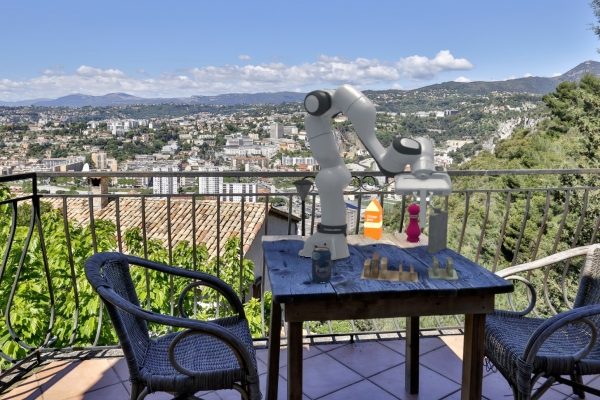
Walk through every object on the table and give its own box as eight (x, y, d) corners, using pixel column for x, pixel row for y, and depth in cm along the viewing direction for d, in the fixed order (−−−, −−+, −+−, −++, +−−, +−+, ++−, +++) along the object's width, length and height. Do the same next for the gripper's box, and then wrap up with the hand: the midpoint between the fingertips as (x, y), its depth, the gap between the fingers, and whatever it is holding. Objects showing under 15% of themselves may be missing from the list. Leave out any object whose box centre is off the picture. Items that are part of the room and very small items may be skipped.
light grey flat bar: (420, 227, 162) (420, 188, 160) (419, 225, 166) (420, 186, 165) (425, 227, 161) (426, 188, 159) (425, 225, 166) (425, 186, 164)
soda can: (317, 285, 161) (317, 251, 160) (308, 279, 168) (308, 247, 166) (334, 282, 164) (334, 249, 162) (325, 277, 170) (325, 245, 169)
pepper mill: (421, 243, 224) (422, 202, 221) (405, 242, 225) (407, 202, 223) (420, 239, 231) (421, 200, 228) (405, 239, 232) (406, 200, 230)
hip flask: (433, 254, 202) (435, 210, 199) (424, 253, 205) (426, 209, 202) (447, 247, 214) (449, 205, 212) (439, 246, 217) (440, 204, 214)
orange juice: (364, 238, 234) (364, 200, 232) (367, 235, 243) (368, 197, 240) (379, 239, 232) (380, 200, 229) (382, 236, 240) (383, 198, 237)
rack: (360, 282, 164) (360, 259, 163) (363, 272, 175) (363, 251, 174) (418, 286, 159) (418, 262, 158) (416, 276, 171) (417, 253, 170)
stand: (429, 282, 163) (429, 263, 162) (427, 272, 175) (427, 255, 174) (458, 284, 161) (459, 265, 160) (454, 274, 173) (455, 256, 172)
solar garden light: (313, 241, 228) (313, 181, 224) (289, 240, 230) (289, 181, 226) (316, 236, 240) (316, 179, 236) (293, 235, 242) (293, 179, 238)
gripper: (394, 168, 171) (393, 197, 163) (451, 167, 166) (453, 197, 158) (394, 179, 176) (393, 208, 168) (450, 179, 171) (451, 208, 163)
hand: (423, 203), depth 163 cm, fingers closed on light grey flat bar, 2 cm apart
